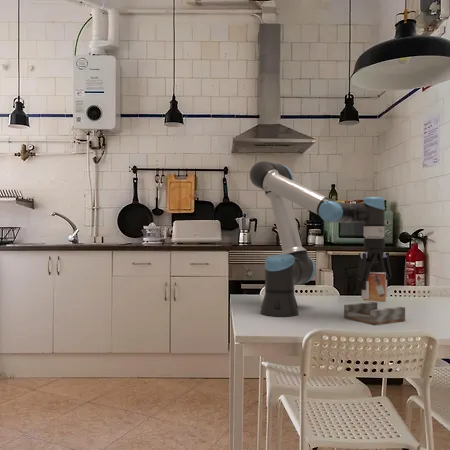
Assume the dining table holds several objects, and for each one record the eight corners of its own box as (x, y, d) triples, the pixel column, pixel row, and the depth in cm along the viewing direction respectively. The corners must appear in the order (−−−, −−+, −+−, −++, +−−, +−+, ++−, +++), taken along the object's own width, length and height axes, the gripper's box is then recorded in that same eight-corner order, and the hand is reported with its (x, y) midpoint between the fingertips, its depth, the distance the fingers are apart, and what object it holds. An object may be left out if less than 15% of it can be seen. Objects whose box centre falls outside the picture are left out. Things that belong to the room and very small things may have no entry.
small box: (363, 300, 168) (362, 272, 168) (364, 298, 173) (363, 271, 174) (385, 302, 165) (385, 273, 166) (386, 300, 171) (385, 272, 171)
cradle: (374, 325, 159) (374, 311, 159) (344, 318, 172) (344, 304, 172) (405, 320, 167) (405, 307, 167) (373, 314, 180) (373, 301, 180)
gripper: (360, 238, 161) (361, 301, 161) (401, 237, 172) (402, 296, 172) (345, 237, 168) (345, 298, 167) (386, 237, 179) (386, 294, 178)
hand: (374, 297), depth 169 cm, fingers closed on small box, 9 cm apart
